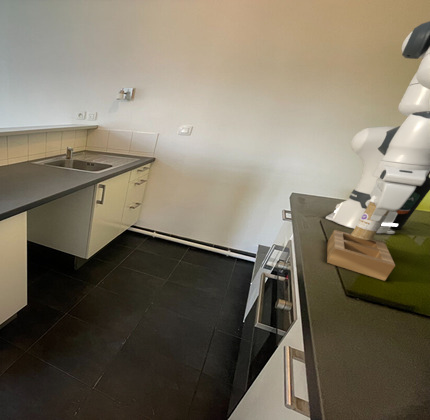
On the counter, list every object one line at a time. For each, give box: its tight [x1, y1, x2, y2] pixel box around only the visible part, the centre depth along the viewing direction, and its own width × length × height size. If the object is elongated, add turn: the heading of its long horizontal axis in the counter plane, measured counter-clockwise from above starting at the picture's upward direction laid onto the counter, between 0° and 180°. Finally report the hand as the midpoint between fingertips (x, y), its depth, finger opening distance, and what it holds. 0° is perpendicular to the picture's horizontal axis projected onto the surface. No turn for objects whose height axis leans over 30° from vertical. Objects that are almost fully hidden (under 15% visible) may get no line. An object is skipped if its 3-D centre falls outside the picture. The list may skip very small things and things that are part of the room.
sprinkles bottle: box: [350, 195, 389, 240], centre depth 74 cm, size 5×5×13 cm
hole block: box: [326, 229, 396, 282], centre depth 75 cm, size 20×11×5 cm, turn 133°
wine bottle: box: [390, 171, 430, 230], centre depth 97 cm, size 8×8×30 cm
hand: (373, 217), depth 74 cm, fingers closed on sprinkles bottle, 4 cm apart
